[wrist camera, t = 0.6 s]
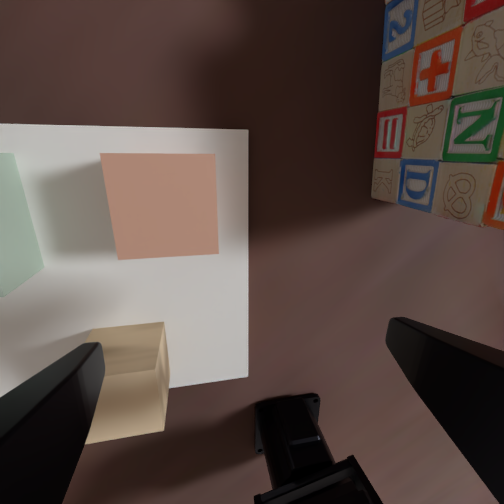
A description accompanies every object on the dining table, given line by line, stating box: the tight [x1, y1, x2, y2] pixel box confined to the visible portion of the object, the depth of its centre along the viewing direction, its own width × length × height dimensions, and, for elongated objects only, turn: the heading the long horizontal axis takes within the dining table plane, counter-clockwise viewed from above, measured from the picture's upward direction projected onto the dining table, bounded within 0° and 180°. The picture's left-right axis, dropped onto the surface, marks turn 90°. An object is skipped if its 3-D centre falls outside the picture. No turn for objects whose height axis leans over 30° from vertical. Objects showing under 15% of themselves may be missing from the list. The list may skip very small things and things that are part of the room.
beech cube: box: [85, 322, 170, 444], centre depth 19 cm, size 5×5×5 cm
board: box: [0, 124, 248, 397], centre depth 19 cm, size 20×24×1 cm
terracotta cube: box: [100, 153, 219, 260], centre depth 15 cm, size 5×5×5 cm
